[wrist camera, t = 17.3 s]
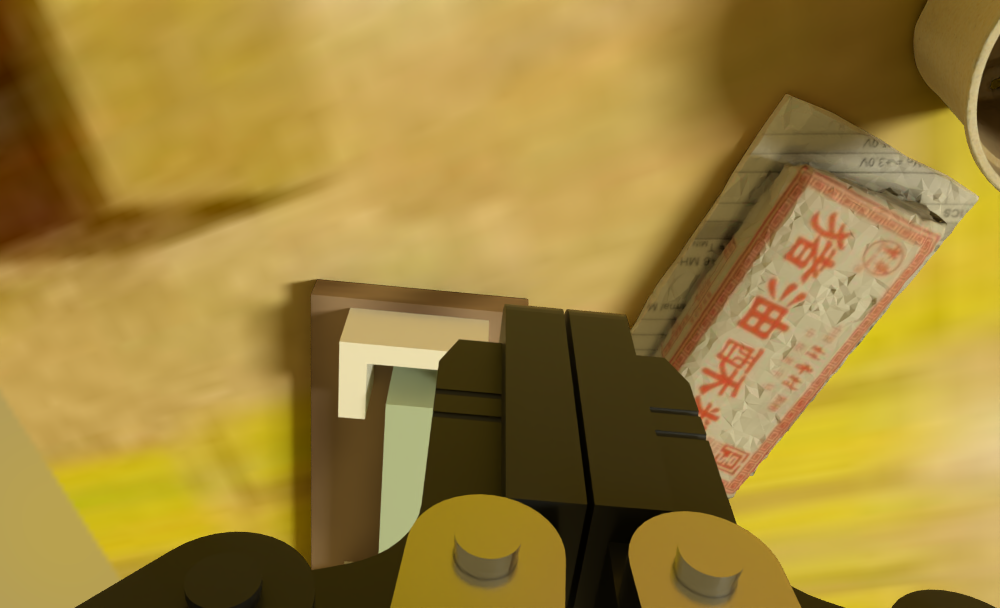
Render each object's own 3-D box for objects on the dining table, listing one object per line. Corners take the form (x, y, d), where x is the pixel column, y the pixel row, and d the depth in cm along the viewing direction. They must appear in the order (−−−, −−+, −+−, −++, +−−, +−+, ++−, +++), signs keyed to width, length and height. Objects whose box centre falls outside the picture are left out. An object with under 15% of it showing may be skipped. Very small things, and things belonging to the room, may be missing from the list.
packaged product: (763, 528, 42) (586, 457, 40) (740, 464, 47) (578, 397, 45) (1022, 226, 35) (818, 117, 32) (966, 182, 39) (782, 84, 37)
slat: (383, 594, 49) (373, 654, 45) (396, 354, 41) (385, 404, 37) (425, 597, 49) (419, 657, 45) (446, 359, 41) (441, 408, 38)
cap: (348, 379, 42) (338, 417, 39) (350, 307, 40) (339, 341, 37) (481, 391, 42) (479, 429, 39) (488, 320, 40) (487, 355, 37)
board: (316, 595, 51) (311, 615, 49) (317, 279, 41) (311, 294, 39) (485, 608, 51) (485, 629, 50) (528, 299, 41) (528, 314, 40)
